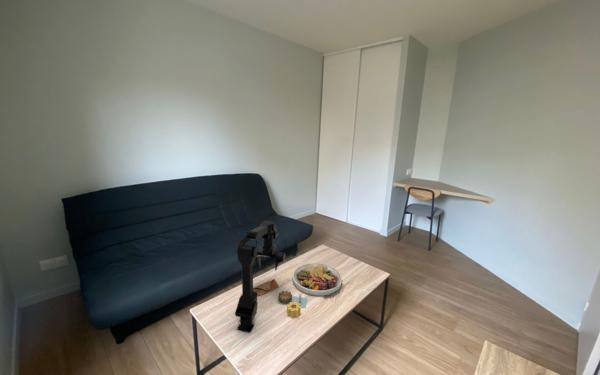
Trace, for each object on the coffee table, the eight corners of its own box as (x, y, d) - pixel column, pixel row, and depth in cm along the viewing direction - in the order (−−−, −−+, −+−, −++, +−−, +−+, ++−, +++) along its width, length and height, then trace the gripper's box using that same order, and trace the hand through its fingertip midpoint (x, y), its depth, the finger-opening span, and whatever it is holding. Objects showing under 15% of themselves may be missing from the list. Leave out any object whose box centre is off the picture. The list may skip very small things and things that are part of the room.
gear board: (305, 310, 124) (305, 300, 123) (276, 305, 127) (276, 296, 126) (307, 300, 132) (308, 291, 131) (280, 296, 135) (280, 287, 133)
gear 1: (290, 305, 126) (290, 299, 125) (276, 303, 127) (276, 296, 126) (293, 296, 133) (293, 290, 132) (280, 294, 134) (280, 288, 133)
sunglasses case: (256, 301, 129) (252, 289, 131) (250, 301, 134) (247, 289, 136) (282, 288, 141) (279, 277, 143) (276, 288, 146) (273, 277, 148)
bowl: (282, 280, 149) (282, 269, 148) (316, 264, 169) (316, 254, 167) (317, 306, 127) (317, 293, 126) (351, 285, 147) (352, 273, 145)
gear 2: (298, 320, 117) (299, 312, 116) (285, 318, 118) (285, 309, 117) (301, 311, 123) (301, 302, 122) (288, 309, 125) (288, 300, 123)
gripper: (287, 239, 138) (287, 264, 141) (257, 235, 141) (257, 260, 145) (283, 247, 128) (282, 274, 131) (249, 243, 131) (250, 269, 134)
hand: (267, 269), depth 135 cm, fingers open, 9 cm apart
